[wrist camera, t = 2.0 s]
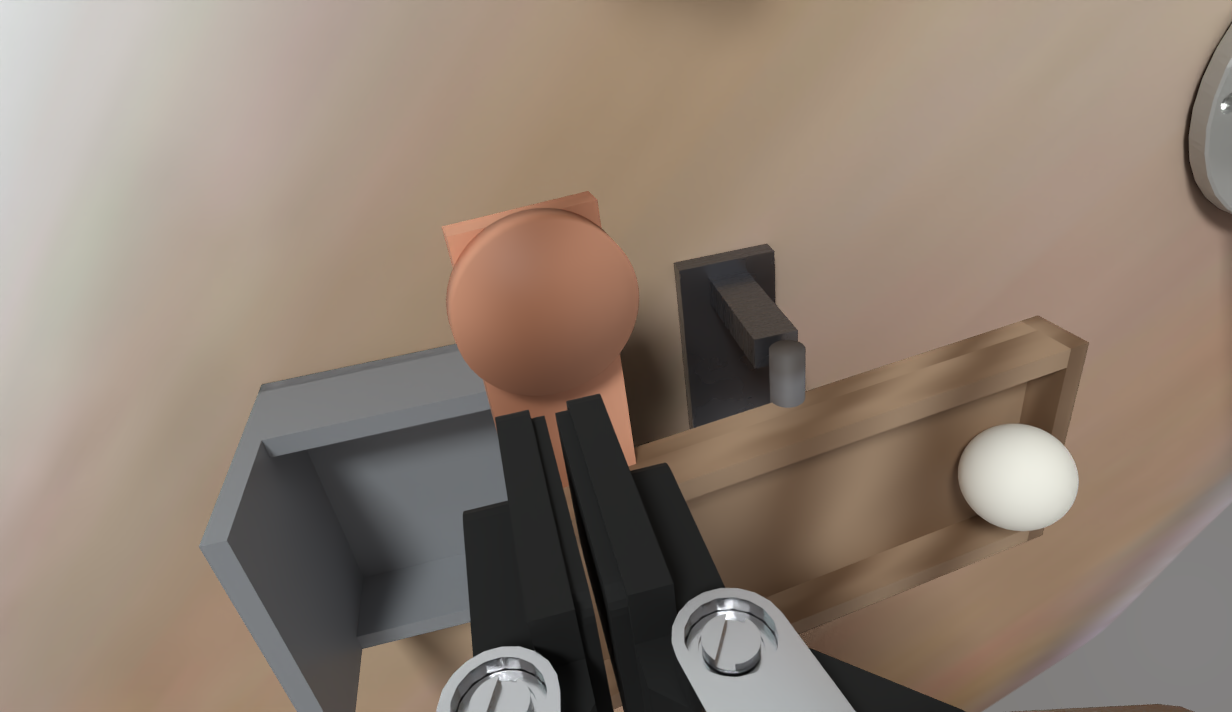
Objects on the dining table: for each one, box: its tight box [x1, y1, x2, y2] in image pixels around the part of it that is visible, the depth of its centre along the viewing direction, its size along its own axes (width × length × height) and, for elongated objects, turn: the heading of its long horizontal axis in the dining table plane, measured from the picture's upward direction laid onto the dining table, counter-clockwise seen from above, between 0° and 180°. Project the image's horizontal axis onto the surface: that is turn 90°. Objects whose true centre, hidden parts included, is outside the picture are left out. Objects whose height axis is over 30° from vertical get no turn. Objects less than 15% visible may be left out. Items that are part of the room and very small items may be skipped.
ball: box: [958, 424, 1079, 531], centre depth 28 cm, size 4×4×4 cm
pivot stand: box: [674, 244, 798, 429], centre depth 32 cm, size 4×15×6 cm, turn 8°
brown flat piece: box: [442, 191, 1089, 709], centre depth 26 cm, size 21×21×3 cm
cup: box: [199, 344, 508, 712], centre depth 29 cm, size 12×12×9 cm
